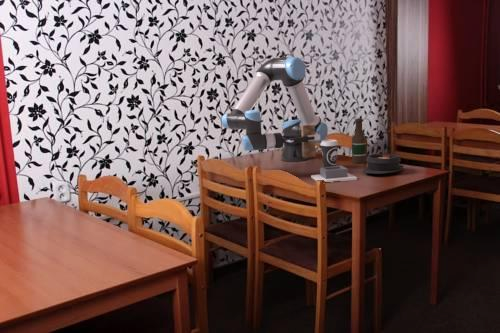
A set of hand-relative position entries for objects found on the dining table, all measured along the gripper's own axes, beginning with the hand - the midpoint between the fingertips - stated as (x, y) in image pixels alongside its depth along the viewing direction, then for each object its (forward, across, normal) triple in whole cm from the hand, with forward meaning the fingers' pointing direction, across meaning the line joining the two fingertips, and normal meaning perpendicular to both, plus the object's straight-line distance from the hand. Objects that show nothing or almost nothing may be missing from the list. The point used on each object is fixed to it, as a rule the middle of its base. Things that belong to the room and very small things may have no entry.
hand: (318, 136), depth 273 cm
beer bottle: (+29, -17, -19) cm, 39 cm away
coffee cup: (+9, -8, -19) cm, 22 cm away
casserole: (+29, +11, -19) cm, 37 cm away
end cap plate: (+2, +15, -19) cm, 24 cm away
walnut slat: (-5, 0, -10) cm, 11 cm away
